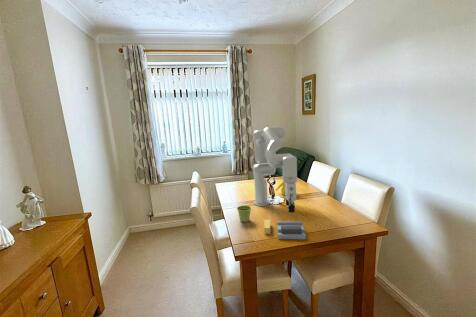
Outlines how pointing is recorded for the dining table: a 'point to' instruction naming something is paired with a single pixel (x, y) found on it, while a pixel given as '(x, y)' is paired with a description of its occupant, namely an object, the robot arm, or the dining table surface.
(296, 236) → the slot rack
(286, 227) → the dark gray block
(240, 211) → the plant pot
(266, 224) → the butter stick
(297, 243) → the dining table surface
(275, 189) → the figure statuette
